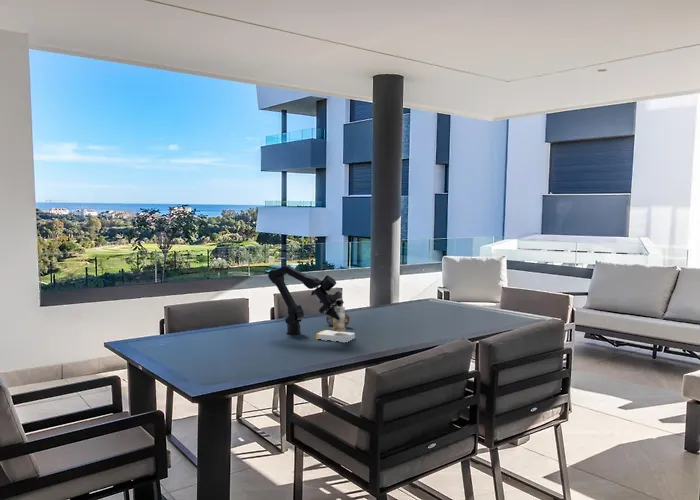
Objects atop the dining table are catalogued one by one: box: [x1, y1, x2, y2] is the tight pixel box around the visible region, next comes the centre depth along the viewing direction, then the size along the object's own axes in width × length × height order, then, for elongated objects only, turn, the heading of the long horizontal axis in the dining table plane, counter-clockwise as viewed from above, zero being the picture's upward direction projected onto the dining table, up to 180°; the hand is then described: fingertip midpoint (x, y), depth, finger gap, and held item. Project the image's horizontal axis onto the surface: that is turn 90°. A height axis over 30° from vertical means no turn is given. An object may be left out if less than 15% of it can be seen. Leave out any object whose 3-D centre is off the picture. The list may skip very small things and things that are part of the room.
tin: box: [326, 312, 351, 327], centre depth 324 cm, size 15×3×8 cm, turn 62°
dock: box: [315, 329, 356, 343], centre depth 290 cm, size 18×11×3 cm, turn 67°
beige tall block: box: [331, 306, 347, 332], centre depth 289 cm, size 6×6×12 cm
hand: (341, 318), depth 288 cm, fingers closed on beige tall block, 4 cm apart
